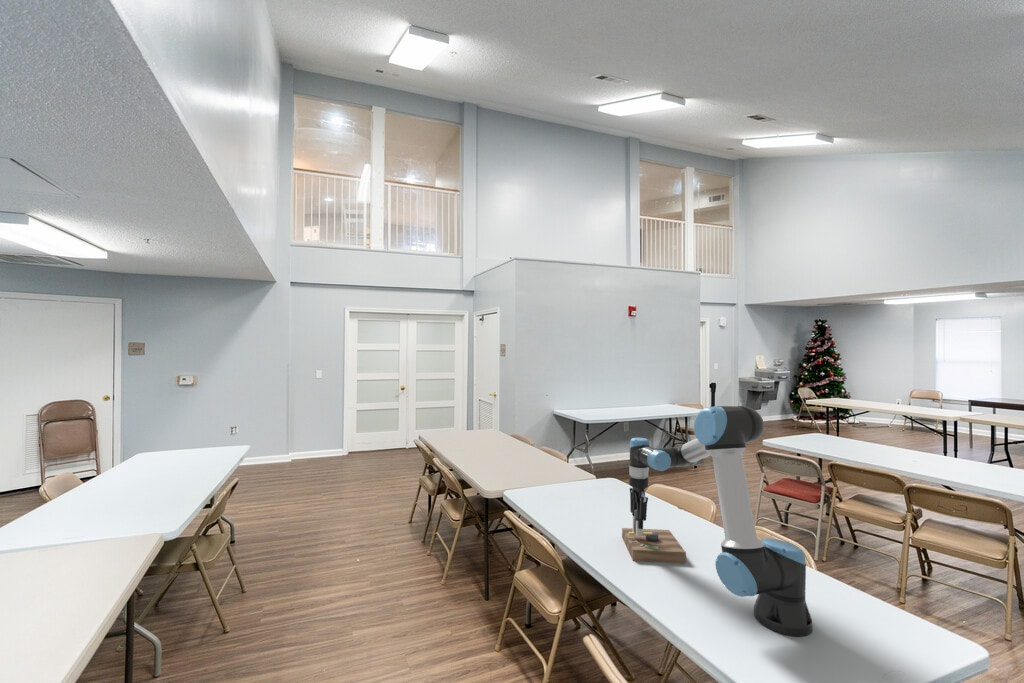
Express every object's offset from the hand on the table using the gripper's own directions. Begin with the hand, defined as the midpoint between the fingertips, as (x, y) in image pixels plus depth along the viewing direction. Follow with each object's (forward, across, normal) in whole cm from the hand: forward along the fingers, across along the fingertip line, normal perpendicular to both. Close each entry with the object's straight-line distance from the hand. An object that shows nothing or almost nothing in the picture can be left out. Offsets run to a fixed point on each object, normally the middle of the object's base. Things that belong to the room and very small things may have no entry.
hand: (637, 534), depth 185 cm
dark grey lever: (+2, 0, -2) cm, 3 cm away
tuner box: (+6, -1, -6) cm, 8 cm away
